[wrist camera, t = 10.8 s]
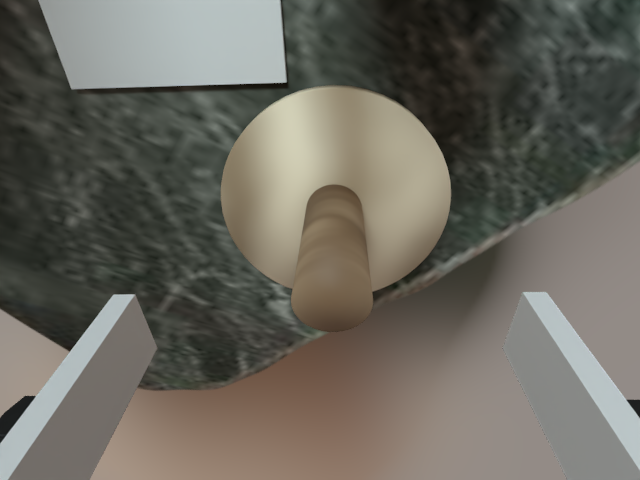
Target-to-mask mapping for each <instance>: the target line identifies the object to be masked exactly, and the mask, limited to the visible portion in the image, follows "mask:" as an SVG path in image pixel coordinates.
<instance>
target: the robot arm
mask: <svg viewBox="0 0 640 480" xmlns="http://www.w3.org/2000/svg"><path fill="white" fill-rule="evenodd" d="M156 350H157V346H156V344H155V341H154V339H153V337H152V334H151V332H150V329H149V327H148V324H147V322H146V320H145V317H144V315H143V312H142V310H141V308H140V305H139V303H138V300H137V298H136V296H135V294H125V295H113V296H112V297H111V299H110V300H109V301H108V303H107V304H106V305H105V306H104V308H103V309H102V310H101V312H100V313H99V314H98V316H97V317H96V318H95V320H94V321H93V322H92V324H91V325H90V326H89V327H88V329H87V330H86V331H85V333H84V334H83V335H82V337H81V338H80V339H79V341H78V342H77V343H76V345H75V346H74V347H73V349H72V350H71V351H70V352H69V354H68V355H67V356H66V358H65V359H64V360H63V362H62V363H61V364H60V366H59V367H58V368H57V370H56V371H55V372H54V373H53V375H52V376H51V377H50V379H49V380H48V381H47V383H46V384H45V385H44V387H43V388H42V389H41V391H40V392H39V393H38V395H37V396H25V397H24V398H22V399H21V400H20V401H18V402H17V403H16V404H15V405H14V406H12V407H11V408H10V409H9V410H7V411H6V412H5V413H4V414H3V415H2V416H1V418H0V480H90V478H91V476H92V474H93V472H94V470H95V468H96V466H97V464H98V462H99V460H100V459H101V456H102V455H103V453H104V451H105V449H106V447H107V445H108V443H109V441H110V439H111V437H112V435H113V433H114V431H115V429H116V427H117V425H118V424H119V421H120V420H121V418H122V415H123V414H124V412H125V410H126V408H127V406H128V404H129V402H130V400H131V398H132V396H133V394H134V392H135V390H136V389H137V387H138V385H139V383H140V381H141V379H142V377H143V375H144V373H145V371H146V369H147V367H148V365H149V363H150V361H151V359H152V357H153V356H154V354H155V352H156ZM503 351H504V352H505V355H506V357H507V359H508V361H509V363H510V365H511V367H512V369H513V371H514V373H515V375H516V377H517V379H518V381H519V383H520V385H521V387H522V389H523V391H524V393H525V395H526V397H527V399H528V401H529V403H530V406H531V408H532V410H533V412H534V414H535V415H536V418H537V420H538V422H539V424H540V426H541V428H542V430H543V432H544V434H545V436H546V438H547V440H548V442H549V444H550V446H551V448H552V450H553V452H554V454H555V456H556V458H557V460H558V462H559V464H560V466H561V468H562V471H563V472H564V475H565V476H566V479H567V480H640V400H626V399H625V398H624V396H623V395H622V394H621V392H620V391H619V390H618V388H617V387H616V386H615V384H614V383H613V382H612V380H611V379H610V377H609V376H608V375H607V373H606V372H605V371H604V369H603V368H602V367H601V365H600V364H599V363H598V361H597V360H596V359H595V357H594V356H593V355H592V353H591V352H590V350H589V349H588V348H587V346H586V345H585V344H584V342H583V341H582V340H581V338H580V337H579V336H578V334H577V333H576V331H575V330H574V329H573V327H572V326H571V325H570V323H569V322H568V321H567V319H566V318H565V317H564V315H563V314H562V313H561V311H560V310H559V309H558V307H557V306H556V305H555V303H554V302H553V300H552V299H551V298H550V296H549V295H548V294H547V292H523V293H522V295H521V298H520V301H519V304H518V306H517V309H516V312H515V315H514V318H513V320H512V323H511V326H510V329H509V332H508V335H507V337H506V340H505V343H504V346H503Z"/></svg>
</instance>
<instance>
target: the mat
mask: <svg viewBox="0 0 640 480" xmlns="http://www.w3.org/2000/svg"><path fill="white" fill-rule="evenodd" d="M38 1H39V3H40V6H41V9H42V11H43V14H44V17H45V20H46V22H47V25H48V28H49V30H50V33H51V36H52V38H53V41H54V44H55V46H56V49H57V52H58V54H59V57H60V60H61V62H62V65H63V68H64V70H65V73H66V76H67V78H68V81H69V84H70V86H71V89H94V88H127V87H159V86H192V85H225V84H257V83H286V82H287V73H286V60H285V47H284V34H283V21H282V8H281V0H38Z"/></svg>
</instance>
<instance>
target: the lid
mask: <svg viewBox="0 0 640 480" xmlns="http://www.w3.org/2000/svg"><path fill="white" fill-rule="evenodd" d="M450 201H451V185H450V177H449V172H448V167H447V165H446V162H445V159H444V157H443V154H442V152H441V150H440V148H439V146H438V145H437V143H436V141H435V139H434V138H433V137H432V135H431V134H430V133H429V132H428V130H427V129H426V128H425V126H424V125H423V124H422V122H421V121H420V120H419V119H418V118H417V117H416V116H414V115H413V114H412V113H411V112H410V111H409V110H408V109H406V108H405V107H404V106H402V105H401V104H399V103H398V102H396V101H395V100H393V99H391V98H389V97H387V96H385V95H383V94H380V93H377V92H374V91H371V90H368V89H365V88H359V87H354V86H345V85H327V86H317V87H312V88H308V89H304V90H300V91H298V92H295V93H293V94H290V95H288V96H285V97H283V98H282V99H280V100H278V101H276V102H275V103H273V104H271V105H270V106H269V107H267V108H266V109H265V110H263V111H262V112H261V113H260V114H258V115H257V117H256V118H255V119H254V120H253V121H252V122H251V123H250V124H249V125H248V126H247V127H246V129H245V130H244V131H243V132H242V134H241V135H240V137H239V138H238V140H237V141H236V142H235V144H234V146H233V148H232V150H231V152H230V154H229V156H228V158H227V161H226V164H225V167H224V171H223V176H222V182H221V203H222V211H223V215H224V219H225V222H226V225H227V228H228V230H229V232H230V235H231V237H232V239H233V240H234V242H235V244H236V245H237V247H238V248H239V250H240V251H241V252H242V254H243V255H244V256H245V257H246V258H247V260H248V261H249V262H250V263H251V264H252V265H253V266H254V267H256V268H257V269H258V270H259V271H261V272H262V273H263V274H264V275H266V276H267V277H269V278H271V279H272V280H274V281H275V282H277V283H279V284H281V285H283V286H285V287H288V288H291V289H293V290H292V296H291V304H292V308H293V311H294V313H295V314H296V316H297V317H298V318H299V319H300V320H301V321H302V322H303V323H305V324H306V325H308V326H310V327H312V328H314V329H317V330H321V331H327V332H339V331H345V330H349V329H351V328H354V327H356V326H358V325H359V324H361V323H362V322H363V321H364V320H365V319H366V318H367V317H368V316H369V314H370V312H371V310H372V307H373V294H372V292H373V291H376V290H378V289H381V288H384V287H386V286H388V285H390V284H392V283H394V282H396V281H398V280H400V279H401V278H403V277H404V276H406V275H407V274H409V273H410V272H411V271H412V270H414V269H415V268H416V267H417V266H418V265H419V264H420V263H421V262H422V261H423V260H424V259H425V258H426V257H427V256H428V255H429V253H430V252H431V251H432V249H433V248H434V247H435V245H436V243H437V242H438V240H439V238H440V236H441V234H442V232H443V229H444V227H445V225H446V222H447V218H448V214H449V210H450Z"/></svg>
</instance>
